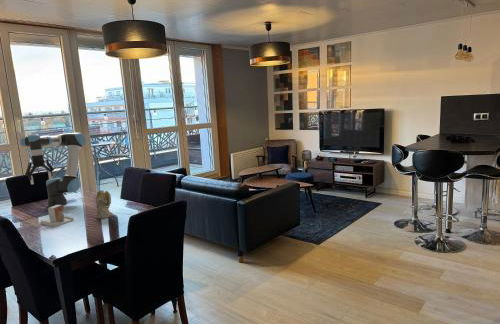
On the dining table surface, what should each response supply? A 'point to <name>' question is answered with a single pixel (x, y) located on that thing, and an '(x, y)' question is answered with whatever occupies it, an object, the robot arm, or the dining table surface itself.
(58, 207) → the small box
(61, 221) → the pin tray
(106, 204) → the figurine
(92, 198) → the dining table surface
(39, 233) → the dining table surface
